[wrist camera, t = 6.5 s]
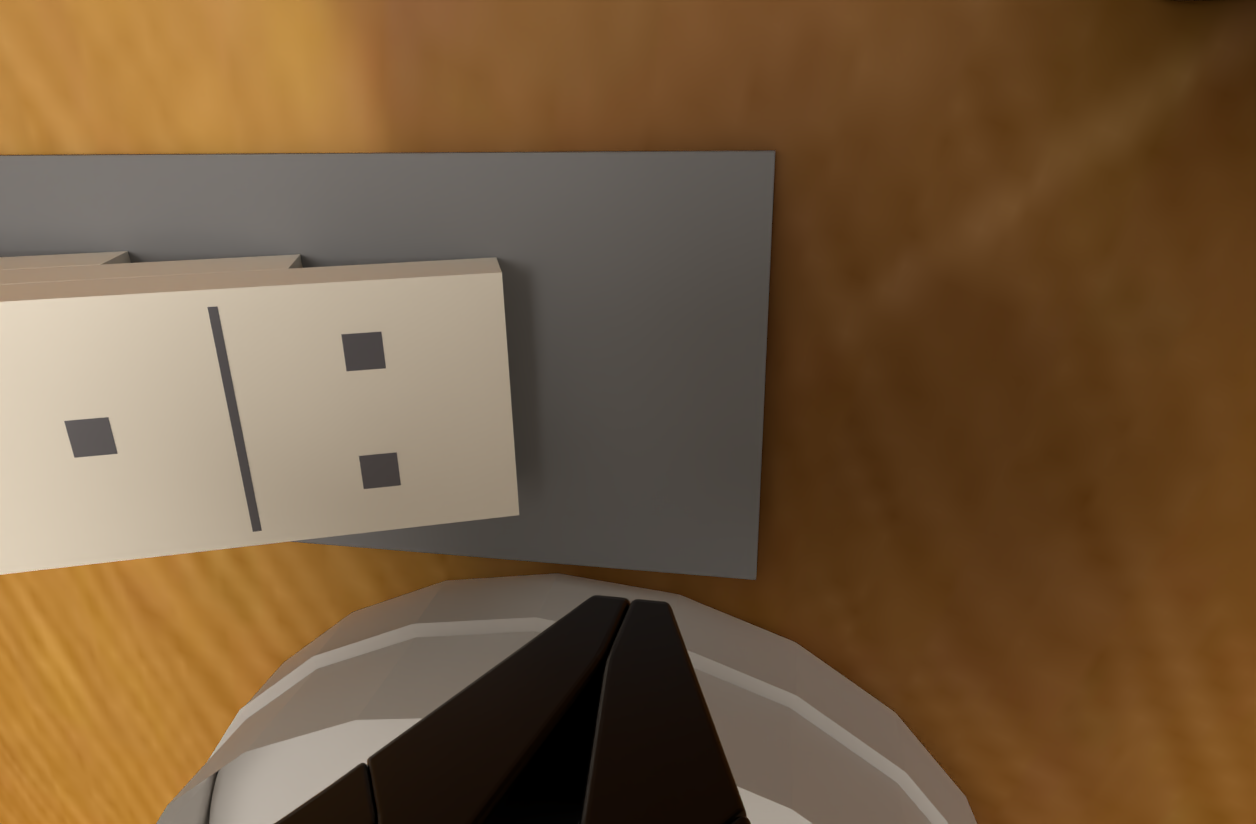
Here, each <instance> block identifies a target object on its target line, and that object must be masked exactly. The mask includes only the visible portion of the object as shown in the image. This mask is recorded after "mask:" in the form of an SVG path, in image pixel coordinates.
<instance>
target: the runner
mask: <svg viewBox="0 0 1256 824" xmlns="http://www.w3.org/2000/svg"><path fill="white" fill-rule="evenodd" d="M774 169H775V150H766V151H601V152H436V153H270V154H105V155H0V257H17V256H37V255H58V254H78V253H99V252H119V251H128V254H129V258H130V263H140V262H160V261H179V260H198V259H218V258H237V257H256V256H276V255H295V254H300V255H301V262H302V268H309V267H328V266H346V265H364V264H382V263H400V262H419V261H437V260H455V259H473V258H491V257H496V258H497V261H498V263H499V266H500V269H501V271H502V281H503V295H504V309H505V323H506V336H507V350H508V364H509V378H510V392H511V406H512V420H513V434H514V448H515V461H516V475H517V489H518V503H519V515H516V516H507V517H498V518H490V519H481V520H472V521H464V522H455V523H446V524H437V525H429V526H420V527H411V528H402V529H394V530H385V531H376V532H368V533H359V534H350V535H341V536H333V537H324V538H315V539H306V540H298V541H290V542H302V543H314V544H326V545H339V546H351V547H363V548H375V549H387V550H399V551H411V552H423V553H436V554H448V555H460V556H472V557H484V558H496V559H508V560H520V561H533V562H545V563H557V564H569V565H581V566H593V567H605V568H617V569H630V570H642V571H654V572H666V573H678V574H690V575H702V576H714V577H727V578H739V579H751V580H756V573H757V551H758V529H759V506H760V484H761V461H762V439H763V416H764V394H765V371H766V349H767V326H768V304H769V281H770V259H771V237H772V214H773V192H774Z"/></svg>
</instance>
